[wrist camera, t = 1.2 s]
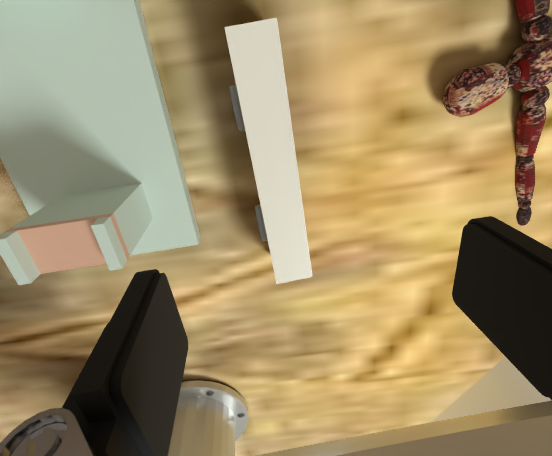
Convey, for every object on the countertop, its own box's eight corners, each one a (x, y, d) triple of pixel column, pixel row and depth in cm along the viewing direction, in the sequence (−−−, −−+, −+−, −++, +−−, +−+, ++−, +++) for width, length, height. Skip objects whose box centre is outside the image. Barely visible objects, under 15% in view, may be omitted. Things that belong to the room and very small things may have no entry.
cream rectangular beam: (301, 247, 30) (312, 276, 25) (265, 254, 30) (270, 285, 25) (268, 30, 22) (276, 17, 18) (220, 39, 22) (215, 28, 17)
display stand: (200, 236, 28) (184, 300, 20) (65, 257, 27) (-7, 331, 19) (103, -139, 17) (-14, -326, 9) (-120, -116, 17) (-447, -294, 9)
